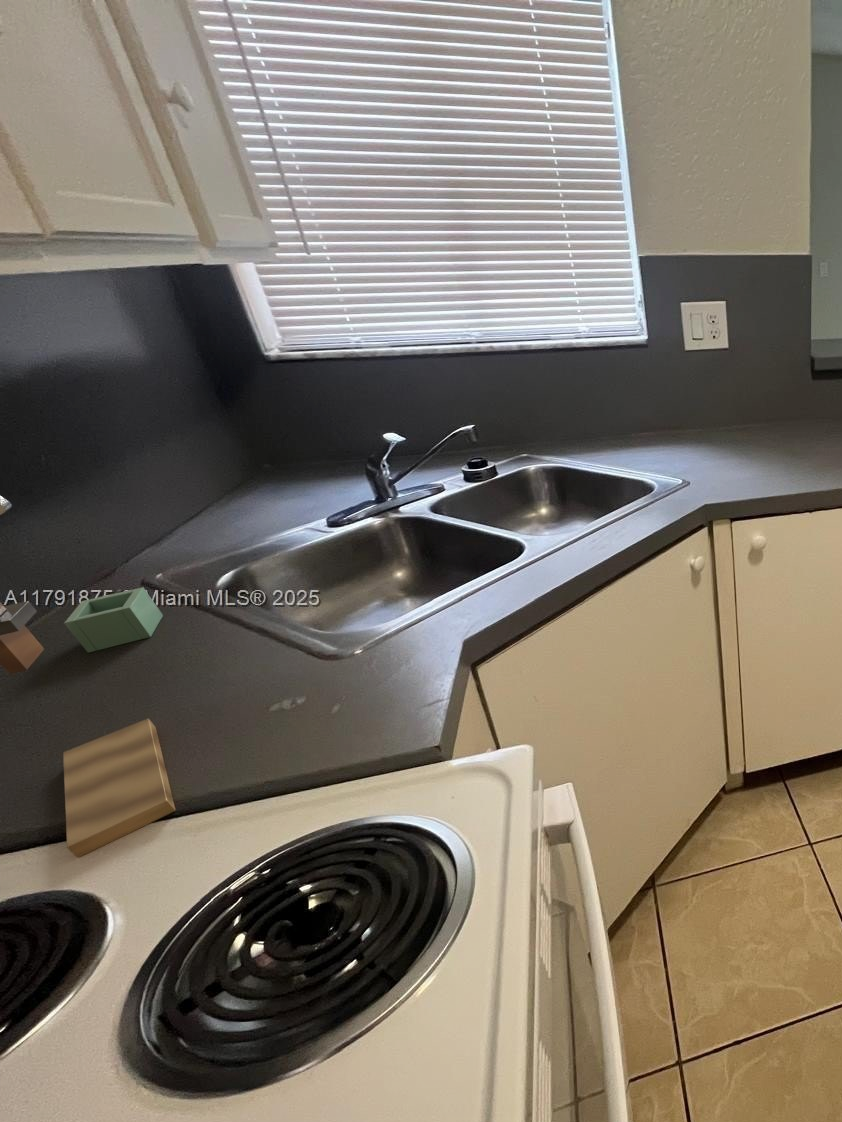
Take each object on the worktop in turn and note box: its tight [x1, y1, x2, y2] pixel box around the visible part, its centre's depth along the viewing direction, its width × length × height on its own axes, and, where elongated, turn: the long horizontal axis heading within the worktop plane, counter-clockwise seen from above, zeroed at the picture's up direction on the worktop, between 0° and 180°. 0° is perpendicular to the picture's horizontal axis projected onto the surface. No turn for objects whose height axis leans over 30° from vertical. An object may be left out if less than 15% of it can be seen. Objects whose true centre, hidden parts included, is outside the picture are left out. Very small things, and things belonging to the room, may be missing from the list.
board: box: [62, 718, 176, 858], centre depth 64 cm, size 18×7×2 cm, turn 47°
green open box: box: [64, 586, 164, 654], centre depth 89 cm, size 7×7×5 cm
